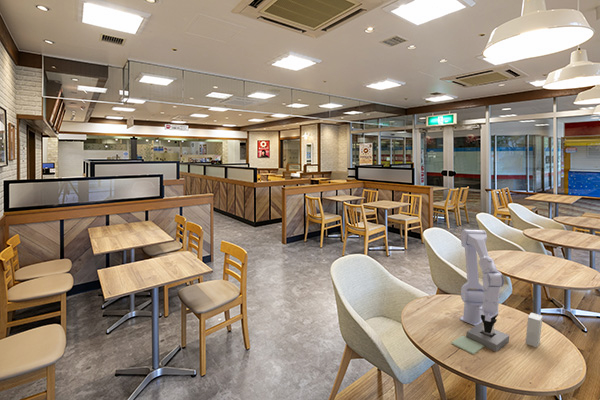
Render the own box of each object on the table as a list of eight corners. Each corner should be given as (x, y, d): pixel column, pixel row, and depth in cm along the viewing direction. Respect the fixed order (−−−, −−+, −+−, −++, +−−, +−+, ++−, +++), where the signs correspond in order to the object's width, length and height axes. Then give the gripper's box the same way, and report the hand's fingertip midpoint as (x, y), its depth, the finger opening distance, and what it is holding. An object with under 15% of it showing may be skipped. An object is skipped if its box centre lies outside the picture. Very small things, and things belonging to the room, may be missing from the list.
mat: (462, 336, 137) (462, 335, 137) (483, 346, 130) (484, 345, 130) (451, 343, 132) (451, 342, 132) (473, 354, 125) (473, 353, 125)
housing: (479, 329, 143) (480, 323, 143) (508, 341, 134) (509, 335, 133) (466, 337, 137) (466, 331, 136) (496, 351, 127) (496, 344, 126)
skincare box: (527, 337, 137) (530, 312, 135) (539, 342, 134) (543, 315, 132) (524, 343, 133) (527, 317, 131) (537, 348, 130) (540, 320, 128)
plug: (484, 334, 138) (486, 320, 137) (494, 339, 135) (495, 324, 134) (480, 337, 136) (481, 322, 135) (490, 342, 132) (491, 326, 131)
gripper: (482, 291, 141) (480, 320, 143) (477, 303, 129) (475, 334, 131) (501, 296, 137) (498, 325, 139) (497, 308, 125) (494, 340, 127)
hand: (488, 330), depth 135 cm, fingers closed on plug, 4 cm apart
